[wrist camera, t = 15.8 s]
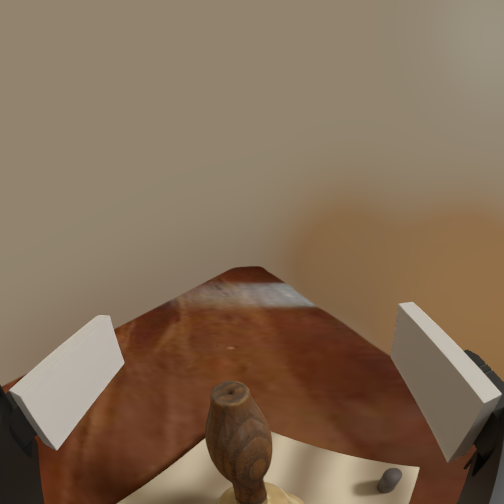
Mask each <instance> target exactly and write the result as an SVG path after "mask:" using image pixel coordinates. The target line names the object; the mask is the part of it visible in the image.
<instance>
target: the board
mask: <svg viewBox="0 0 504 504" xmlns="http://www.w3.org/2000/svg"><path fill="white" fill-rule="evenodd" d="M271 436H272V459H271V464H270V467H269V469H268V471H267V473H266V475H265V476H264V478H263V480H264V482H268V483H271V484H274V485H276V486H277V487H279V488H281V489H282V490H283V491H285V492H288V493H291V494H293V495H295V496H296V497H298V498H300V499H301V500H302V501H304V502H305V503H306V504H409V501H410V498H411V495H412V492H413V489H414V485H415V482H416V479H417V475H418V471H419V468H420V467H411V466H403V465H395V464H389V463H383V462H377V461H372V460H367V459H362V458H357V457H353V456H349V455H344V454H340V453H336V452H333V451H329V450H325V449H322V448H318V447H315V446H312V445H308V444H305V443H302V442H299V441H296V440H293V439H290V438H287V437H284V436H281V435H279V434H276V433H273V432H271ZM232 486H233V485H232V483H231V482H230V481H229V480H227V479H226V478H225V477H224V476H223V475H222V474H221V473H220V472H219V471H218V470H217V468H216V467H215V465H214V463H213V462H212V460H211V457H210V455H209V452H208V449H207V445H206V440H205V439H203V440H202V441H201V442H200V443H199V444H197V445H196V446H195V447H194V448H193V449H191V450H190V451H189V452H188V453H186V454H185V455H184V456H183V457H181V458H180V459H179V460H178V461H176V462H175V463H174V464H173V465H171V466H170V467H169V468H167V469H166V470H165V471H163V472H162V473H161V474H159V475H158V476H157V477H155V478H154V479H152V480H151V481H150V482H148V483H147V484H145V485H144V486H142V487H141V488H140V489H138V490H137V491H135V492H134V493H132V494H131V495H129V496H128V497H126V498H125V499H123V500H121V501H120V502H118V503H117V504H215V503H216V502H218V500H219V498H220V497H221V495H222V494H223V493H224V492H225V491H226V490H227V489H229V488H230V487H232Z"/></svg>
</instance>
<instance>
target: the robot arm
mask: <svg viewBox="0 0 504 504" xmlns="http://www.w3.org/2000/svg"><path fill="white" fill-rule="evenodd" d="M390 357H391V359H392V361H393V362H394V364H395V366H396V367H397V369H398V371H399V372H400V374H401V376H402V378H403V379H404V381H405V383H406V384H407V386H408V388H409V390H410V392H411V393H412V395H413V397H414V399H415V400H416V402H417V404H418V406H419V408H420V410H421V411H422V413H423V415H424V417H425V419H426V421H427V423H428V425H429V427H430V428H431V430H432V432H433V434H434V436H435V438H436V440H437V442H438V444H439V446H440V448H441V450H442V452H443V454H444V456H445V459H446V461H447V463H449V462H451V461H453V460H455V459H458V458H460V457H462V456H464V455H466V453H467V452H468V451H469V449H470V448H471V446H472V445H473V443H474V445H475V447H476V449H477V450H476V452H475V453H474V454H473V456H472V457H471V458H470V460H469V461H468V462H467V464H466V465H465V467H464V469H467V467H468V466H469V465H470V464H471V465H470V469H469V472H468V475H467V478H466V481H465V484H464V486H463V489H462V492H461V495H460V497H459V500H458V502H457V504H504V382H503V381H502V380H501V379H500V378H499V377H498V376H497V375H496V374H495V373H494V372H493V371H491V368H490V367H489V366H488V365H485V362H484V361H483V360H482V359H481V358H480V357H479V356H478V355H476V354H475V353H472V352H471V351H469V350H465V351H463V350H462V349H461V348H460V347H459V346H458V345H457V344H456V343H455V342H454V341H453V340H452V339H451V338H450V337H449V336H448V335H447V334H446V333H445V332H444V331H443V330H442V329H441V328H440V327H439V326H438V325H437V324H436V323H435V322H434V321H433V320H432V319H430V318H429V316H427V315H426V314H425V313H424V312H423V311H422V310H421V309H420V308H419V307H418V306H417V305H416V304H415V303H414V302H409V303H401V304H398V310H397V317H396V325H395V332H394V338H393V344H392V349H391V355H390ZM123 364H124V360H123V357H122V354H121V351H120V348H119V345H118V342H117V339H116V336H115V333H114V329H113V326H112V322H111V319H110V316H104V315H97V316H96V317H95V318H94V319H92V320H91V321H90V322H89V323H87V324H86V325H85V326H84V327H82V328H81V329H80V330H79V331H78V332H76V333H75V334H74V335H73V336H71V337H70V338H69V339H68V340H67V341H65V342H64V343H63V344H62V345H61V346H59V347H58V348H57V349H56V350H55V351H53V352H52V353H51V354H50V355H49V356H48V357H46V358H45V359H44V360H43V361H42V362H40V363H39V364H38V365H37V366H36V367H35V368H34V369H33V370H31V371H30V372H29V373H28V374H27V375H26V376H24V377H23V378H22V379H21V380H20V381H19V382H18V383H17V384H16V385H14V386H13V387H12V388H11V389H10V390H9V392H7V393H6V394H5V393H4V391H3V389H2V387H1V385H0V504H44V499H43V493H42V486H41V478H40V469H39V458H38V444H37V441H36V440H35V438H34V437H35V436H36V435H38V436H39V437H40V439H41V440H42V441H43V443H44V444H45V445H47V446H49V447H51V448H53V449H55V450H58V449H59V447H60V446H61V445H62V443H63V442H64V441H65V439H66V438H67V437H68V435H69V434H70V433H71V431H72V430H73V429H74V427H75V426H76V425H77V423H78V422H79V421H80V419H81V418H82V417H83V415H84V414H85V413H86V411H87V410H88V409H89V408H90V406H91V405H92V404H93V402H94V401H95V400H96V399H97V397H98V396H99V395H100V393H101V392H102V391H103V390H104V388H105V387H106V386H107V384H108V383H109V382H110V381H111V379H112V378H113V377H114V376H115V374H116V373H117V372H118V371H119V369H120V368H121V367H122V366H123Z"/></svg>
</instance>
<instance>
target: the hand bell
mask: <svg viewBox="0 0 504 504" xmlns="http://www.w3.org/2000/svg"><path fill="white" fill-rule="evenodd" d="M205 440H206V445H207V449H208V452H209V455H210V457H211V460H212V462H213V463H214V465H215V467H216V468H217V470H218V471H219V472H220V473H221V474H222V475H223V476H224V477H225V478H226V479H227V480H229V481H230V482H231V483H232V485H233V486H232V487H230V488H229V489H227V490H226V491H225V492H224V493H223V494H222V495H221V497H220V498H219V500H218V502H216V503H215V504H306V503H305V502H304V501H302V500H301V499H300V498H298V497H296V496H295V495H293V494H291V493H288V492H285V491H283V490H282V489H281V488H279V487H277V486H276V485H274V484H271V483H268V482H264V480H263V478H264V476H265V475H266V473H267V471H268V469H269V467H270V464H271V459H272V436H271V431H270V428H269V425H268V423H267V421H266V419H265V417H264V415H263V414H262V412H261V411H260V409H259V408H258V406H257V405H256V403H255V402H254V400H253V398H252V397H251V395H250V392H249V389H248V388H247V386H245V385H244V384H243V383H241V382H236V381H225V382H223V383H221V384H219V385H217V386H216V387H214V388H213V389H212V392H211V403H210V409H209V413H208V418H207V422H206V430H205Z"/></svg>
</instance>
